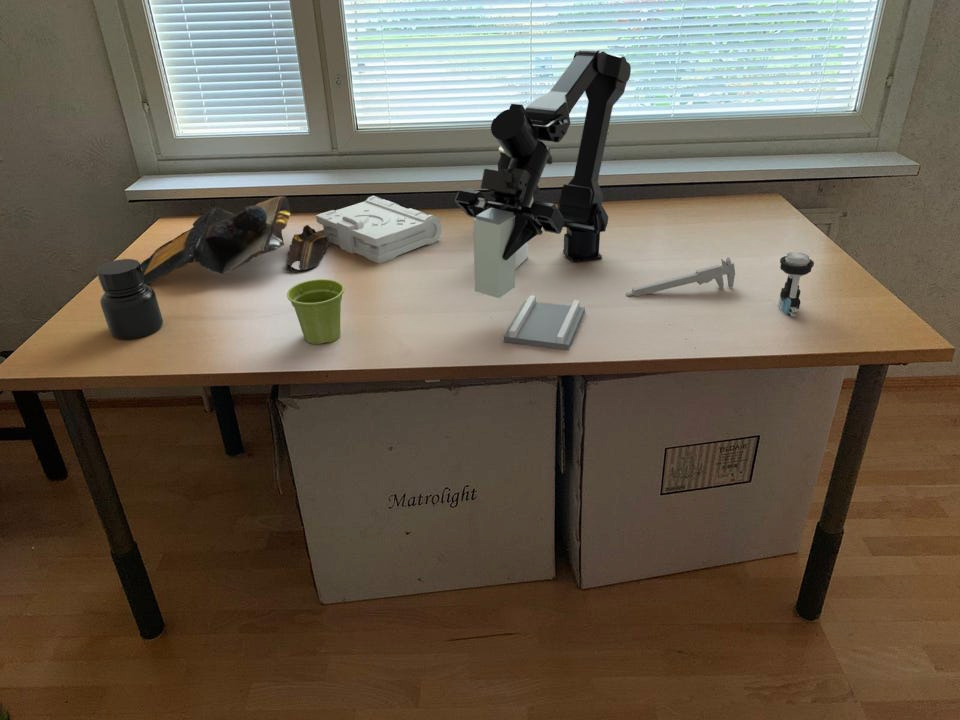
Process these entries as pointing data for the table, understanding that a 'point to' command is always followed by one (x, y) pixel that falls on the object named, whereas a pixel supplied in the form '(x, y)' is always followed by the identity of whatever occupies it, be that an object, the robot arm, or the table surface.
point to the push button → (793, 280)
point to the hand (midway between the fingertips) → (490, 256)
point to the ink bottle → (128, 300)
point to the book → (379, 229)
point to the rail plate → (545, 324)
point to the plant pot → (318, 309)
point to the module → (493, 252)
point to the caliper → (691, 279)
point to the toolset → (236, 241)
